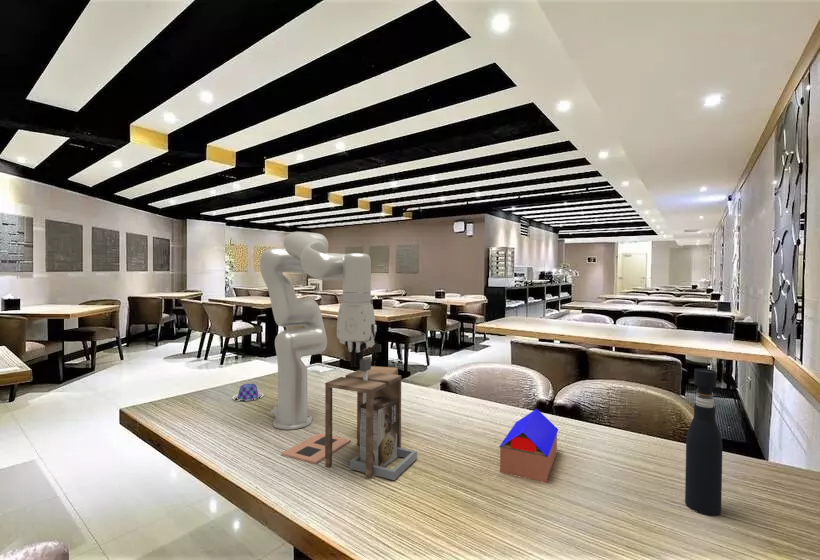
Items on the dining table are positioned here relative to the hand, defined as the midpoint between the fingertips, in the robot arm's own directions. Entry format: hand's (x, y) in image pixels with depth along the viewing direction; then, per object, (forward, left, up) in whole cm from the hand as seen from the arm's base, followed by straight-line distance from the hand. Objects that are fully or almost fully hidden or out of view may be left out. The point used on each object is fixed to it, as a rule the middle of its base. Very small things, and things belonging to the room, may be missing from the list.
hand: (356, 365), depth 111 cm
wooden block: (-3, +18, -26) cm, 31 cm away
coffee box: (+7, +1, -26) cm, 26 cm away
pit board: (-13, 0, -25) cm, 29 cm away
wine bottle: (+81, +14, -26) cm, 86 cm away
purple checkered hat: (-69, +26, -26) cm, 78 cm away
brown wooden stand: (+3, 0, -25) cm, 25 cm away
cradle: (+9, 0, -25) cm, 27 cm away
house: (+43, +19, -26) cm, 54 cm away
